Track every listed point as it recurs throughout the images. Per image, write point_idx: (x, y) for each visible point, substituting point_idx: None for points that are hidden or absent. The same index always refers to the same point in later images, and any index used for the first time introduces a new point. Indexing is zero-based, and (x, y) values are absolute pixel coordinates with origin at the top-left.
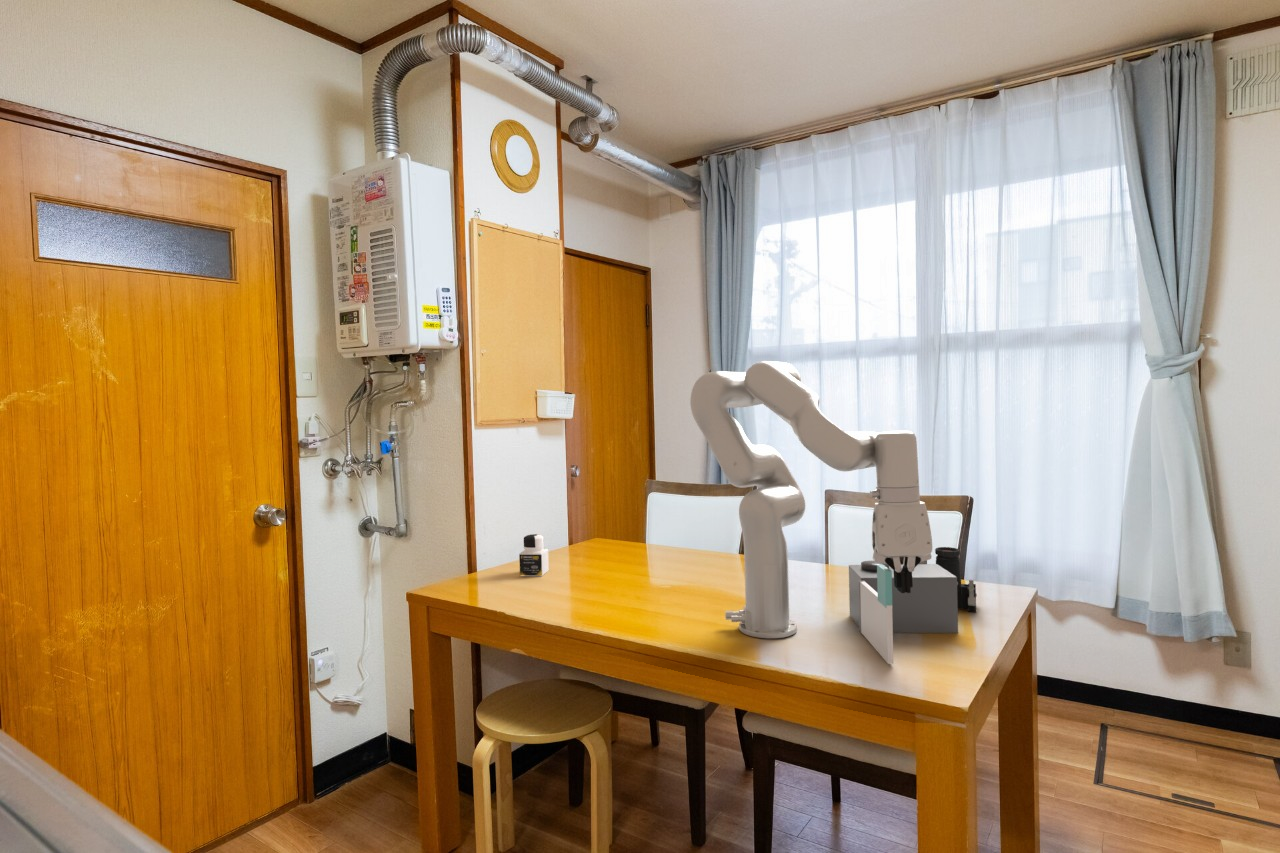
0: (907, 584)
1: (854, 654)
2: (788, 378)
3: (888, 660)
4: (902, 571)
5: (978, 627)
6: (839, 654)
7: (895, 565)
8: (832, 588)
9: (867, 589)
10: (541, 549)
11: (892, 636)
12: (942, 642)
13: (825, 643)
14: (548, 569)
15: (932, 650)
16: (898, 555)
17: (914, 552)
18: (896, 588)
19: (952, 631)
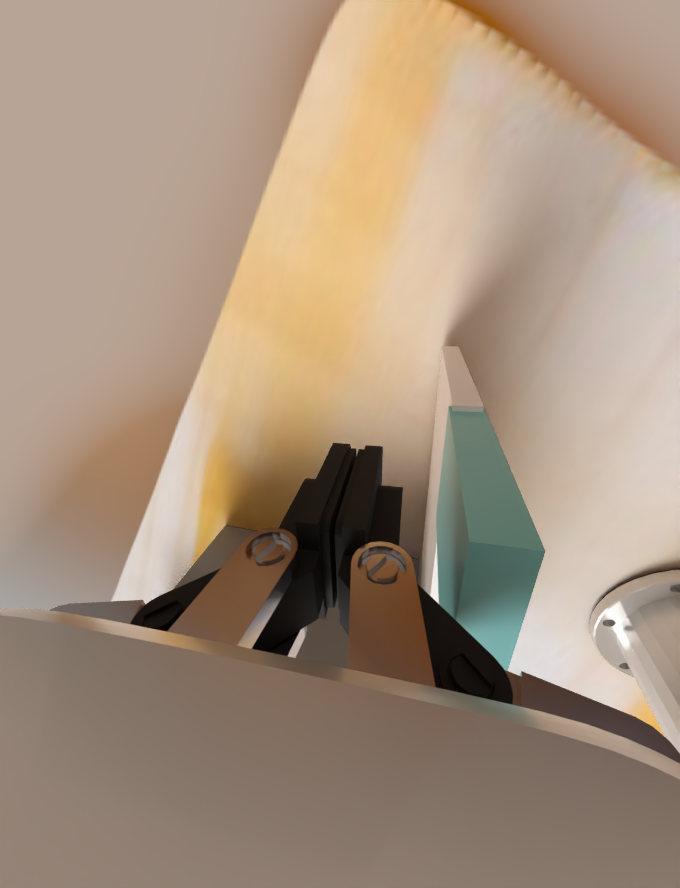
0: (339, 469)
1: (515, 438)
2: None
3: (457, 348)
4: (343, 556)
5: (184, 543)
6: (562, 442)
7: (408, 601)
8: None
9: None
10: None
11: (446, 364)
12: (267, 484)
13: (559, 519)
14: None
15: (302, 443)
16: (388, 698)
17: (91, 682)
18: (315, 646)
19: (233, 529)
